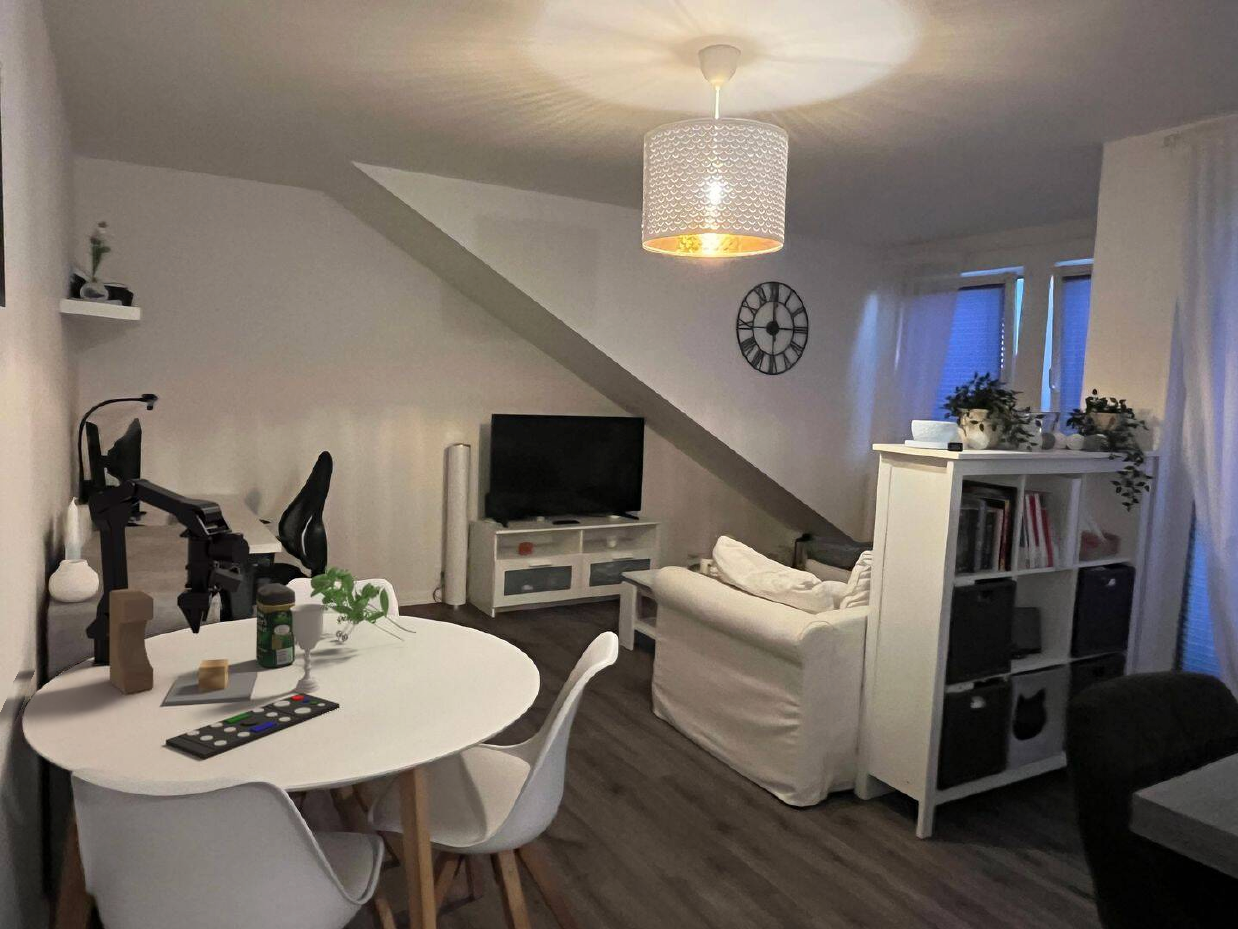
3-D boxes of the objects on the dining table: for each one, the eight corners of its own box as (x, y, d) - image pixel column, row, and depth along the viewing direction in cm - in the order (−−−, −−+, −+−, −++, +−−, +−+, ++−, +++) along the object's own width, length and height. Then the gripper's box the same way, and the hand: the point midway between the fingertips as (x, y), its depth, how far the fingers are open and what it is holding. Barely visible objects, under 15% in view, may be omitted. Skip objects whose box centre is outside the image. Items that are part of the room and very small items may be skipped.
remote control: (339, 710, 175) (339, 701, 175) (204, 762, 148) (204, 751, 148) (302, 699, 180) (302, 690, 180) (165, 747, 154) (165, 737, 154)
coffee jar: (251, 659, 203) (252, 583, 201) (285, 654, 207) (286, 579, 206) (263, 670, 195) (264, 591, 193) (298, 665, 200) (299, 587, 198)
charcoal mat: (163, 705, 172) (163, 702, 172) (179, 679, 187) (179, 676, 187) (249, 700, 177) (249, 696, 177) (257, 675, 192) (257, 671, 192)
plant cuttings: (346, 645, 239) (283, 606, 227) (382, 593, 245) (322, 552, 232) (401, 680, 212) (332, 638, 200) (440, 621, 218) (375, 577, 205)
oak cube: (198, 690, 179) (198, 667, 178) (202, 682, 183) (202, 660, 183) (224, 689, 180) (224, 666, 180) (227, 681, 185) (228, 659, 184)
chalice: (290, 696, 180) (292, 613, 178) (287, 686, 186) (288, 605, 184) (326, 692, 183) (328, 610, 182) (322, 682, 189) (323, 603, 188)
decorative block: (154, 689, 180) (154, 597, 179) (124, 695, 176) (123, 601, 175) (138, 676, 188) (138, 587, 186) (109, 681, 184) (108, 590, 182)
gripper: (234, 568, 182) (232, 639, 183) (246, 550, 200) (244, 615, 201) (177, 568, 179) (175, 640, 180) (194, 550, 196) (193, 616, 198)
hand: (199, 627), depth 190 cm, fingers open, 9 cm apart
